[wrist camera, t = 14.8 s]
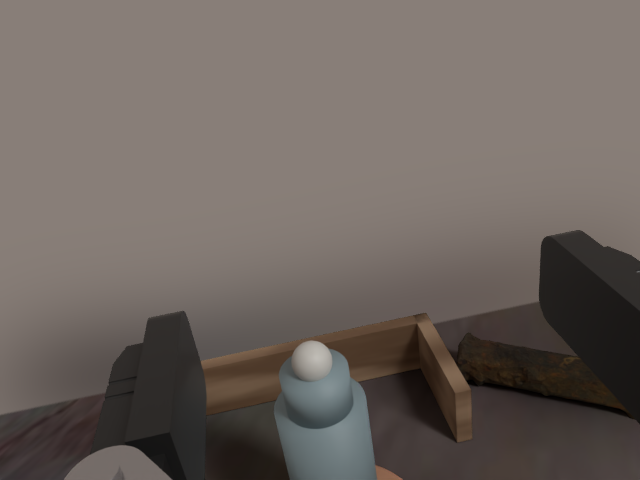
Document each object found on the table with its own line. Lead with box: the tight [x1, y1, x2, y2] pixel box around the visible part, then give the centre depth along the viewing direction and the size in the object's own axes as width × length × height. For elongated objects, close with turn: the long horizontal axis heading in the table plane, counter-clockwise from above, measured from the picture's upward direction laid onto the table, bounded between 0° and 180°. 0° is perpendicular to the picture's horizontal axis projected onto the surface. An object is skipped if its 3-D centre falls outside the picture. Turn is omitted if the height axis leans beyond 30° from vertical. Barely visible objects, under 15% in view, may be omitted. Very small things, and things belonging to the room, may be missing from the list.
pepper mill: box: [274, 341, 377, 480], centre depth 34 cm, size 5×5×15 cm
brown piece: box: [457, 333, 636, 420], centre depth 45 cm, size 19×4×5 cm, turn 61°
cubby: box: [201, 313, 472, 443], centre depth 47 cm, size 10×22×5 cm, turn 100°
